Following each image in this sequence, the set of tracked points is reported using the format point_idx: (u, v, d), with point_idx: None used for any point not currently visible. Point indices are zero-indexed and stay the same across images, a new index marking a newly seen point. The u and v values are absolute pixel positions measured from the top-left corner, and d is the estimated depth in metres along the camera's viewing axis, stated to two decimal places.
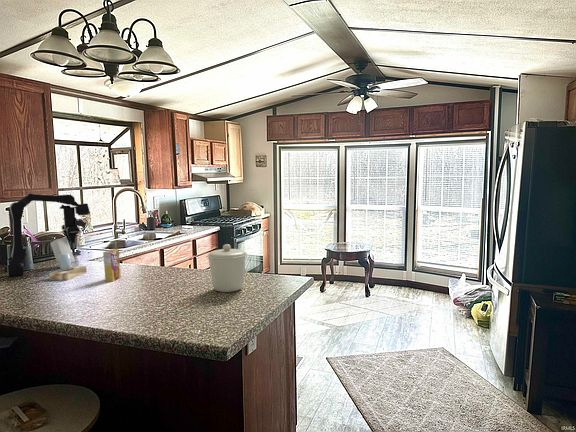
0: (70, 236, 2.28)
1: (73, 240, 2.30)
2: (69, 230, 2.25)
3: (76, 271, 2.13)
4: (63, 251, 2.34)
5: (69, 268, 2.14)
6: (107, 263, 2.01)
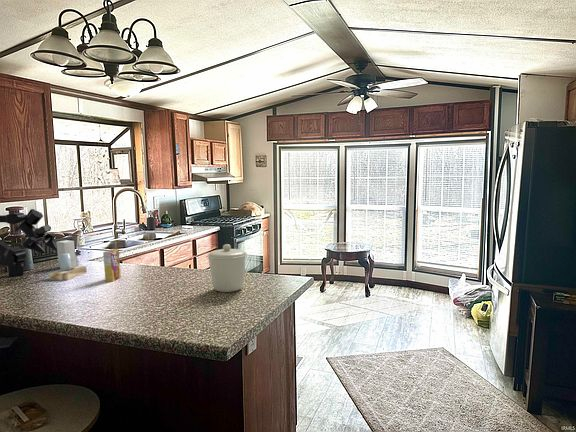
0: (35, 249, 2.09)
1: (41, 250, 2.09)
2: (24, 246, 2.05)
3: (76, 271, 2.13)
4: None
5: (69, 268, 2.14)
6: (107, 263, 2.01)
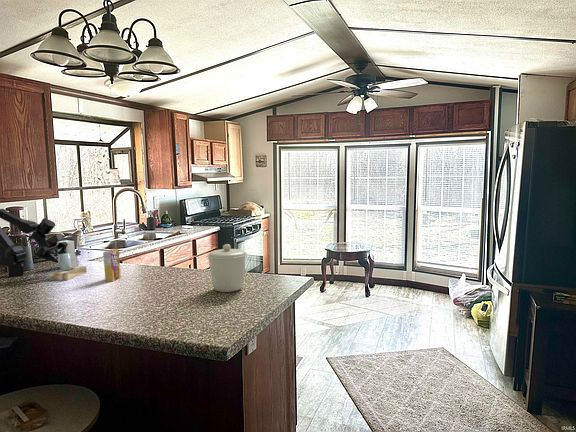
0: (48, 258, 2.08)
1: (54, 259, 2.09)
2: (37, 255, 2.05)
3: (76, 271, 2.13)
4: None
5: (69, 268, 2.14)
6: (107, 263, 2.01)
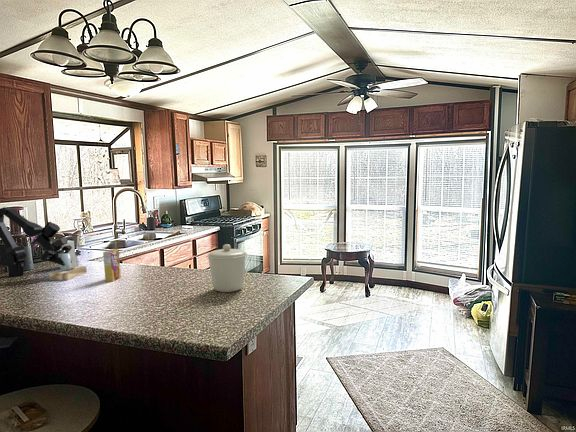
0: (55, 261, 2.10)
1: (61, 262, 2.11)
2: (42, 259, 2.05)
3: (76, 271, 2.13)
4: None
5: (69, 268, 2.14)
6: (107, 263, 2.01)
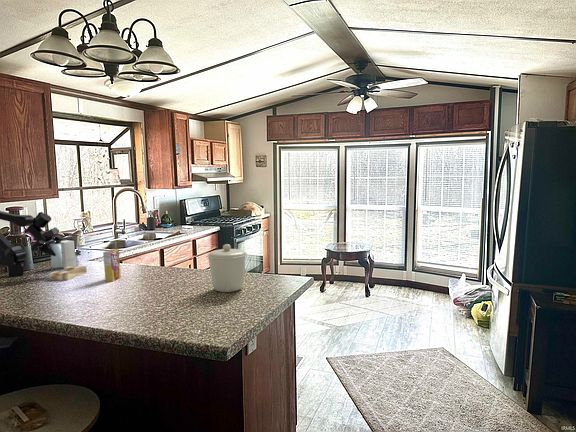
0: (46, 251, 2.10)
1: (52, 253, 2.11)
2: (32, 249, 2.05)
3: (76, 271, 2.13)
4: (67, 255, 2.33)
5: (60, 258, 2.14)
6: (107, 263, 2.01)
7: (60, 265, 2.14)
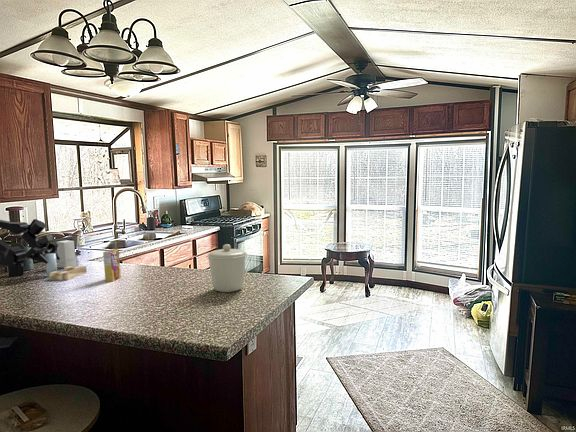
0: (38, 259, 2.09)
1: (44, 260, 2.09)
2: (27, 256, 2.06)
3: (76, 271, 2.13)
4: (67, 255, 2.33)
5: (55, 268, 2.15)
6: (107, 263, 2.01)
7: None
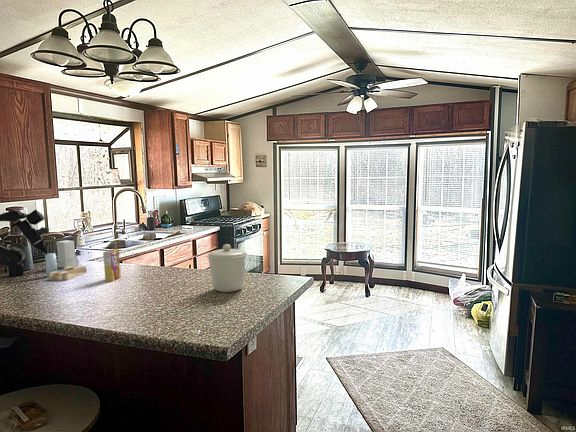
0: (38, 247, 2.15)
1: (44, 249, 2.17)
2: (32, 242, 2.11)
3: (76, 271, 2.13)
4: (67, 255, 2.33)
5: (55, 268, 2.15)
6: (107, 263, 2.01)
7: None
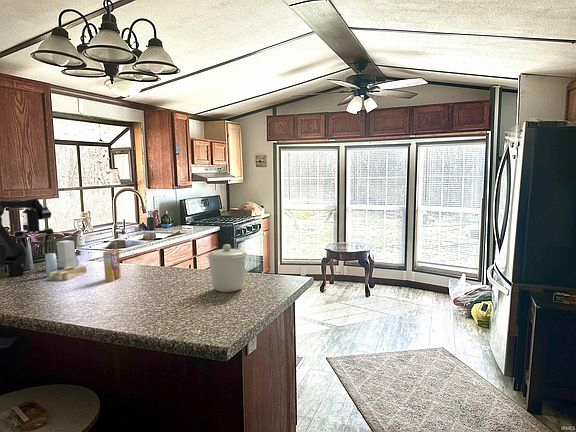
0: None
1: (45, 243, 2.33)
2: None
3: (76, 271, 2.13)
4: (67, 255, 2.33)
5: (55, 268, 2.15)
6: (107, 263, 2.01)
7: None
